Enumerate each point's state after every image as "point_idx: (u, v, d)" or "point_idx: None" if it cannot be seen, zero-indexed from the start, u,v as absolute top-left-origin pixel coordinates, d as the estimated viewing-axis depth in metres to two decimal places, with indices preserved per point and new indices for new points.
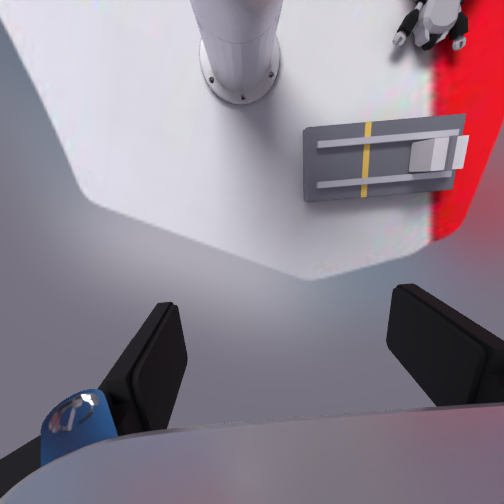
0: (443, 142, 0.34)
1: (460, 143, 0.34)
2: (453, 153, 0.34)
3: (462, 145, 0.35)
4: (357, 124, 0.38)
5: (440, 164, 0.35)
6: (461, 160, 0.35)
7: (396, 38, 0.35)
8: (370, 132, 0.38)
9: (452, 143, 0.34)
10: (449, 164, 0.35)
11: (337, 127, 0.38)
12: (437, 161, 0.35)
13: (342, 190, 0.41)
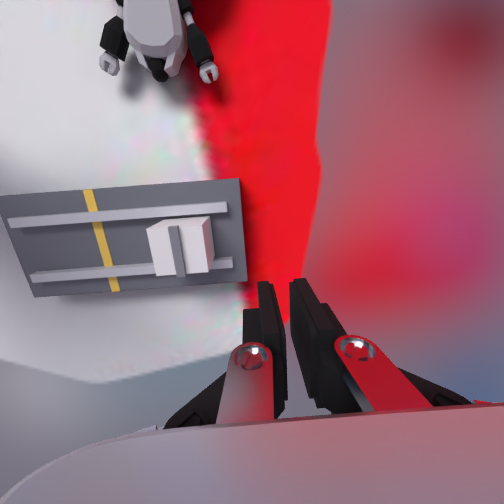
0: (162, 235, 0.21)
1: (191, 236, 0.21)
2: (179, 253, 0.21)
3: (195, 240, 0.21)
4: (71, 192, 0.25)
5: (169, 266, 0.22)
6: (202, 261, 0.22)
7: (100, 63, 0.22)
8: (95, 204, 0.25)
9: (172, 238, 0.21)
10: (178, 268, 0.22)
11: (41, 196, 0.25)
12: (162, 261, 0.22)
13: (81, 282, 0.28)
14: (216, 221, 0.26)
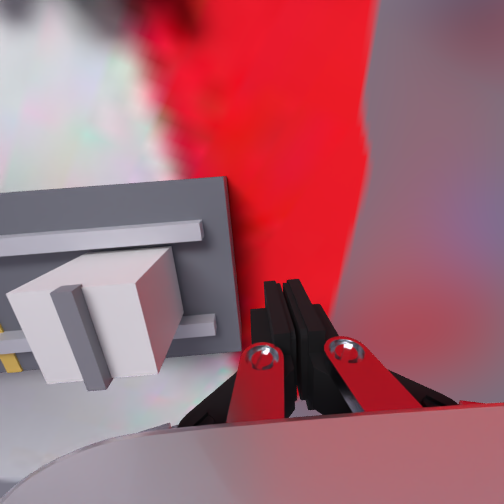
0: (47, 306, 0.09)
1: (115, 307, 0.09)
2: (86, 345, 0.09)
3: (124, 315, 0.10)
4: None
5: (72, 366, 0.10)
6: (142, 354, 0.10)
7: None
8: None
9: (66, 316, 0.09)
10: (89, 374, 0.10)
11: None
12: (55, 357, 0.10)
13: None
14: (183, 256, 0.14)
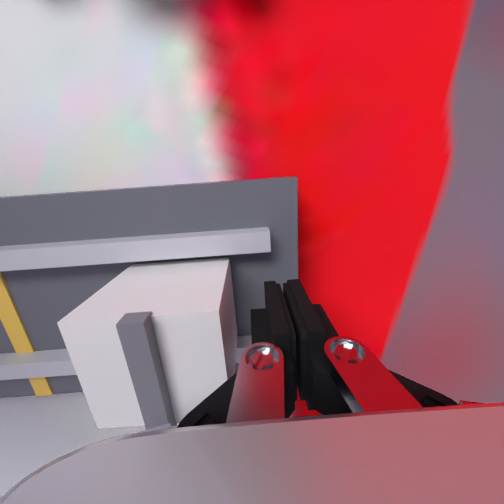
0: (106, 338, 0.07)
1: (189, 340, 0.08)
2: (154, 388, 0.07)
3: (200, 349, 0.08)
4: None
5: (130, 409, 0.08)
6: None
7: None
8: None
9: (133, 352, 0.07)
10: (154, 422, 0.08)
11: None
12: (110, 398, 0.08)
13: None
14: (243, 268, 0.12)
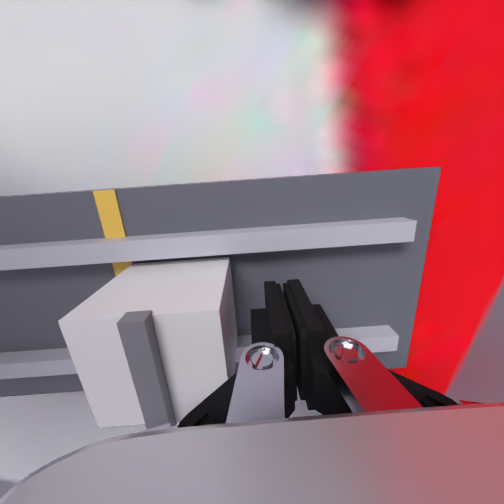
0: (107, 336, 0.07)
1: (190, 339, 0.08)
2: (154, 386, 0.07)
3: (200, 348, 0.08)
4: (68, 195, 0.11)
5: (130, 407, 0.08)
6: None
7: None
8: (120, 223, 0.11)
9: (133, 351, 0.07)
10: (154, 420, 0.08)
11: (1, 206, 0.11)
12: (110, 397, 0.08)
13: None
14: (371, 259, 0.12)
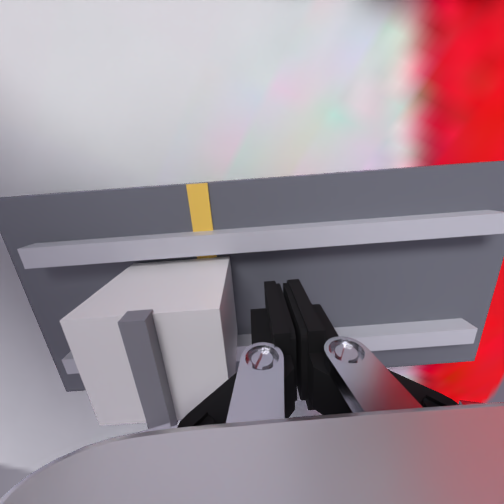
0: (108, 335, 0.07)
1: (190, 338, 0.08)
2: (155, 385, 0.08)
3: (201, 347, 0.08)
4: (160, 189, 0.11)
5: (132, 406, 0.08)
6: None
7: None
8: (209, 217, 0.11)
9: (135, 350, 0.07)
10: (155, 419, 0.08)
11: (93, 199, 0.11)
12: (112, 396, 0.08)
13: None
14: (451, 252, 0.12)
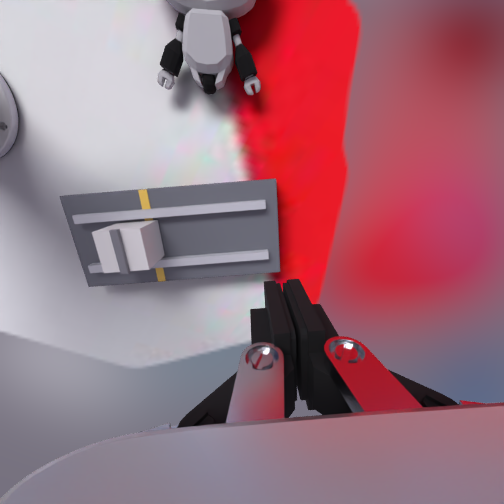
0: (106, 237, 0.24)
1: (132, 238, 0.24)
2: (121, 253, 0.24)
3: (135, 241, 0.24)
4: (128, 192, 0.28)
5: (114, 264, 0.25)
6: (142, 259, 0.25)
7: (158, 79, 0.25)
8: (148, 203, 0.28)
9: (114, 240, 0.24)
10: (121, 266, 0.25)
11: (101, 196, 0.28)
12: (108, 260, 0.25)
13: (131, 273, 0.31)
14: (254, 218, 0.29)
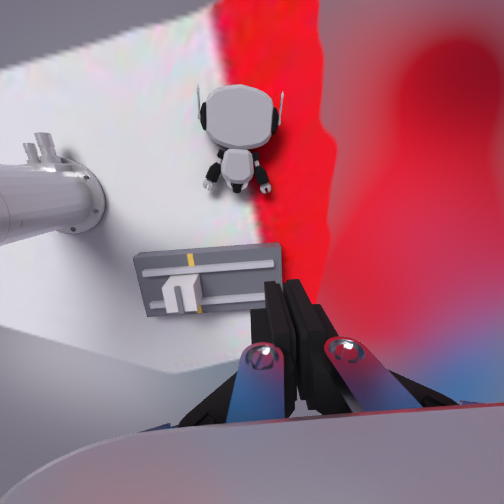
0: (170, 291, 0.37)
1: (187, 291, 0.37)
2: (180, 301, 0.37)
3: (189, 293, 0.37)
4: (180, 255, 0.41)
5: (174, 307, 0.38)
6: (193, 304, 0.38)
7: (204, 185, 0.38)
8: (193, 262, 0.41)
9: (176, 293, 0.37)
10: (180, 309, 0.38)
11: (161, 257, 0.41)
12: (170, 305, 0.38)
13: None
14: (265, 271, 0.42)
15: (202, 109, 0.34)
